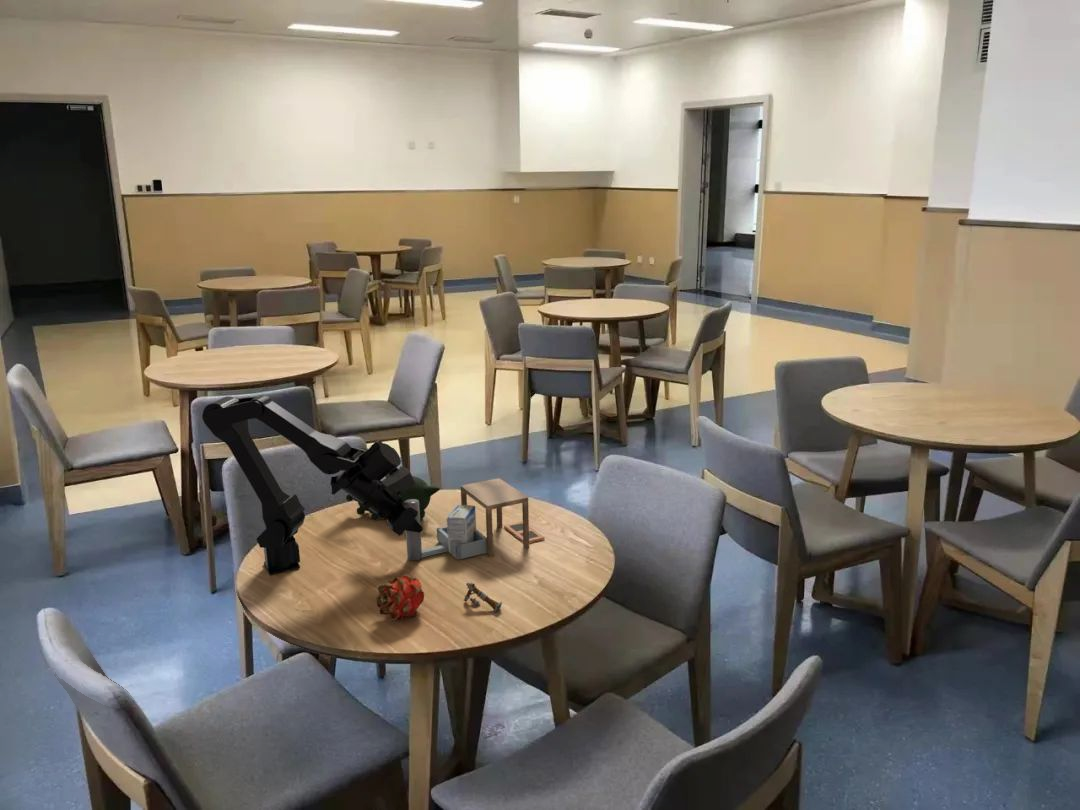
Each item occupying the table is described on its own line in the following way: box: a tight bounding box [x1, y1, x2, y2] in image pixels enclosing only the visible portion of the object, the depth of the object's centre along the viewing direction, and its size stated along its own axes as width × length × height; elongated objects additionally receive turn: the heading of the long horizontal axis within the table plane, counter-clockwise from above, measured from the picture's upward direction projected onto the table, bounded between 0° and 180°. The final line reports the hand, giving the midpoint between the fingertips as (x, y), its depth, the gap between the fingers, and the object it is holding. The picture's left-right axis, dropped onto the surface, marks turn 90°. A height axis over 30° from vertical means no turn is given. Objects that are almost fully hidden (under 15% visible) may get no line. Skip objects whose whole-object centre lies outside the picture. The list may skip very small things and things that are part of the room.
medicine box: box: [446, 504, 477, 554], centre depth 184 cm, size 8×4×9 cm, turn 168°
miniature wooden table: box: [460, 477, 530, 558], centre depth 187 cm, size 10×15×12 cm
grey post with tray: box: [404, 499, 487, 561], centre depth 181 cm, size 17×12×13 cm
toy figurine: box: [342, 447, 441, 522], centre depth 200 cm, size 9×19×25 cm
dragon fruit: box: [376, 573, 425, 621], centre depth 156 cm, size 8×8×12 cm
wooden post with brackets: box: [463, 581, 503, 613], centre depth 159 cm, size 2×8×4 cm, turn 61°
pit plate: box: [503, 520, 545, 544], centre depth 192 cm, size 5×11×1 cm, turn 29°
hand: (418, 527), depth 179 cm, fingers closed on grey post with tray, 3 cm apart
